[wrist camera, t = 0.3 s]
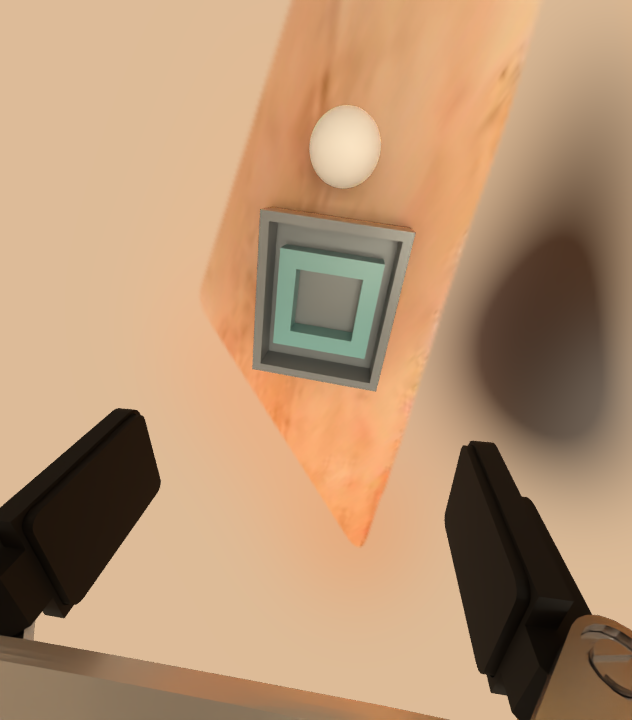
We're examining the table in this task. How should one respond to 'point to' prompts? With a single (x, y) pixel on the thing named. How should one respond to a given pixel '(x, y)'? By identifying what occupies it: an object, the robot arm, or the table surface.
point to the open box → (327, 295)
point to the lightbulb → (345, 146)
